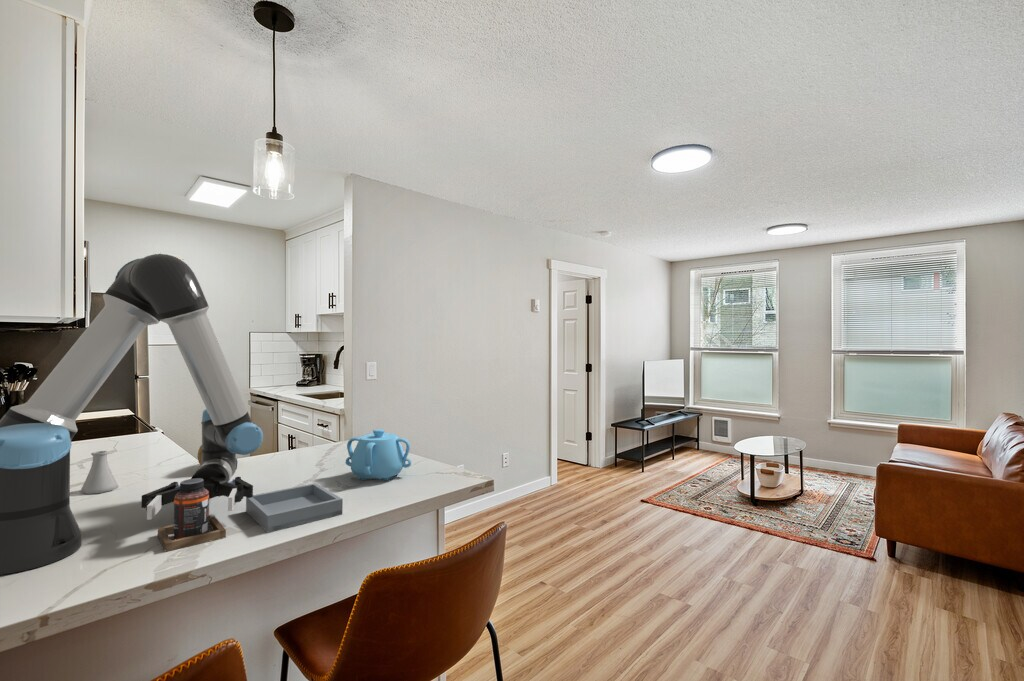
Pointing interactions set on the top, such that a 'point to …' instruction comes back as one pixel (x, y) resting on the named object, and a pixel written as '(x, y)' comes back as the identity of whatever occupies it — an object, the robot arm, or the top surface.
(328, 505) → the tray
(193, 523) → the supplement bottle
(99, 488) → the flask
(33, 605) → the top surface
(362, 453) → the decorative pot
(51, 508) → the robot arm
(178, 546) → the rectangular wooden frame
